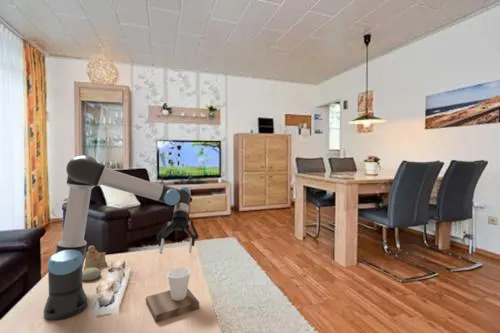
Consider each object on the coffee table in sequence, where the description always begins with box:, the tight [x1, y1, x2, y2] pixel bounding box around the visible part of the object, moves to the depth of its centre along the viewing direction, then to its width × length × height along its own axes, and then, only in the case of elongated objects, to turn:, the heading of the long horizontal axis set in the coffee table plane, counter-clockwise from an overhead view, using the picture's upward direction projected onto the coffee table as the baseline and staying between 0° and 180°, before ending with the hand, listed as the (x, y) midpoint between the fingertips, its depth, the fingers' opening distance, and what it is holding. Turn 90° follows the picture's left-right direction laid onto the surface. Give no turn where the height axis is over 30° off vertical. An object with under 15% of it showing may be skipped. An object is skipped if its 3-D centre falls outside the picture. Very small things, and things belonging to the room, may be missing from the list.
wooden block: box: [145, 287, 200, 324], centre depth 115 cm, size 18×16×3 cm
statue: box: [83, 245, 108, 271], centre depth 154 cm, size 12×14×10 cm
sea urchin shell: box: [82, 268, 102, 282], centre depth 140 cm, size 9×8×8 cm
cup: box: [166, 267, 191, 301], centre depth 116 cm, size 10×10×11 cm
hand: (175, 252), depth 125 cm, fingers open, 13 cm apart
